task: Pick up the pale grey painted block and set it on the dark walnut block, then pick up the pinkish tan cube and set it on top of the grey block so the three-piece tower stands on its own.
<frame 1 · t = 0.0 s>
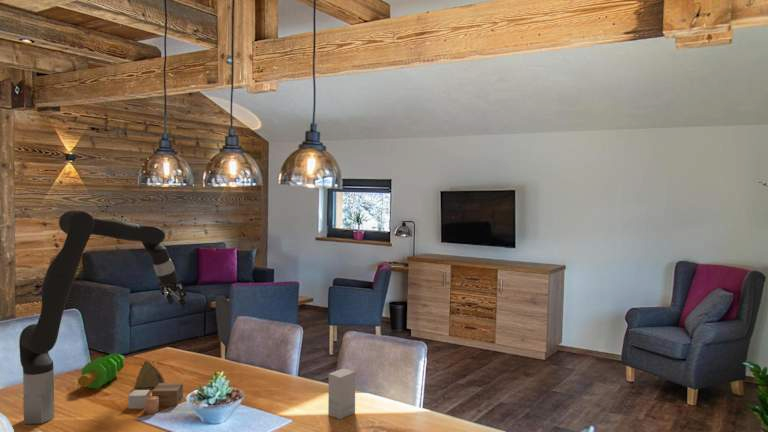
hand: (177, 304, 255), 31 cm above the table, tool tilted 20°, fingers open, 8 cm apart
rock: (150, 386, 246), on the table
skincare box: (341, 414, 218), on the table
walnut block: (168, 402, 229), on the table
grey block: (139, 405, 225), on the table
pinkish tan cube: (152, 411, 219), on the table
decorative tree: (106, 381, 251), on the table
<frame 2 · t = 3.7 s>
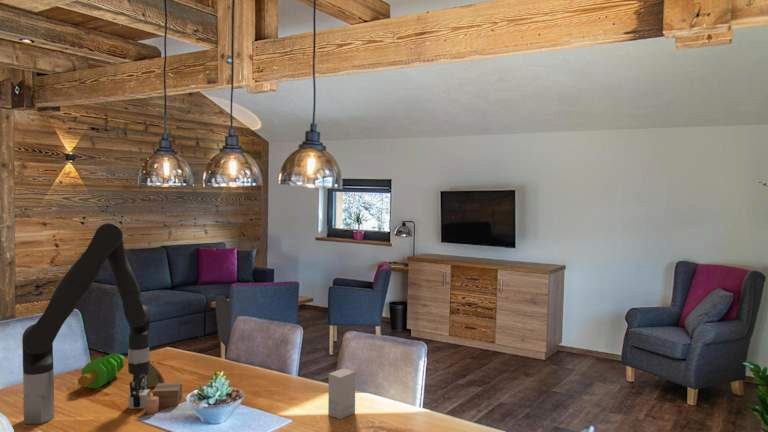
hand: (139, 403, 225), 1 cm above the table, tool pointing down, fingers closed on grey block, 6 cm apart
grey block: (139, 405, 225), on the table, touching gripper
everything else where it was.
when the fingers open (8 cm above the table, at t = 8.3 s): grey block drops 1 cm, resting on walnut block.
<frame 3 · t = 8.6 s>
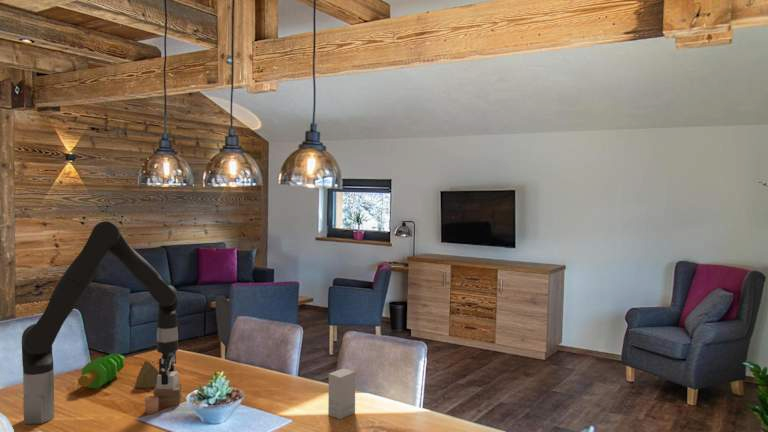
hand: (167, 380, 229), 8 cm above the table, tool pointing down, fingers open, 8 cm apart
walnut block: (167, 402, 229), on the table, touching grey block
grey block: (167, 386, 229), point 6 cm above the table, touching walnut block
everything else where it was.
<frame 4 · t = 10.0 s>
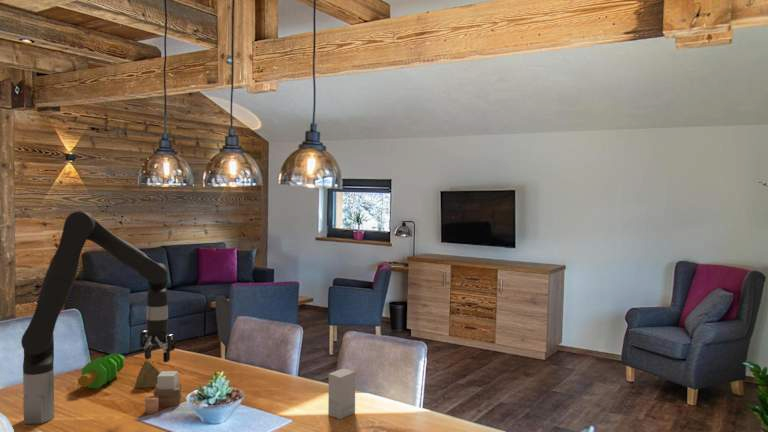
hand: (157, 360, 224), 17 cm above the table, tool pointing down, fingers open, 8 cm apart
walnut block: (168, 402, 229), on the table
grey block: (167, 386, 229), point 6 cm above the table
everything else where it was.
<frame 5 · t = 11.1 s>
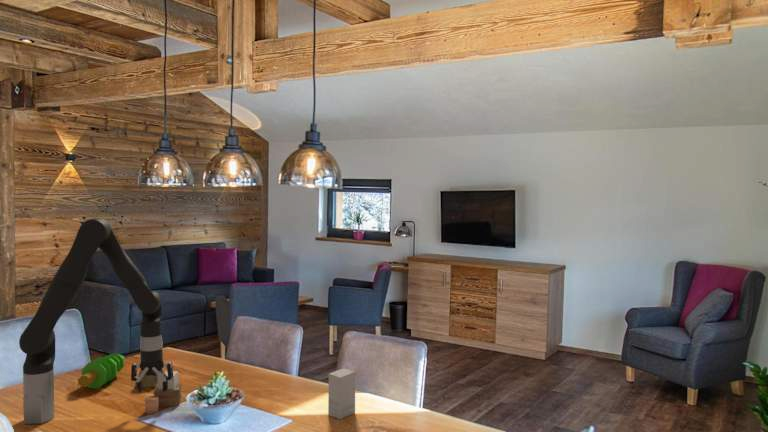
hand: (152, 391, 218), 7 cm above the table, tool pointing down, fingers open, 8 cm apart
nothing on the table moved.
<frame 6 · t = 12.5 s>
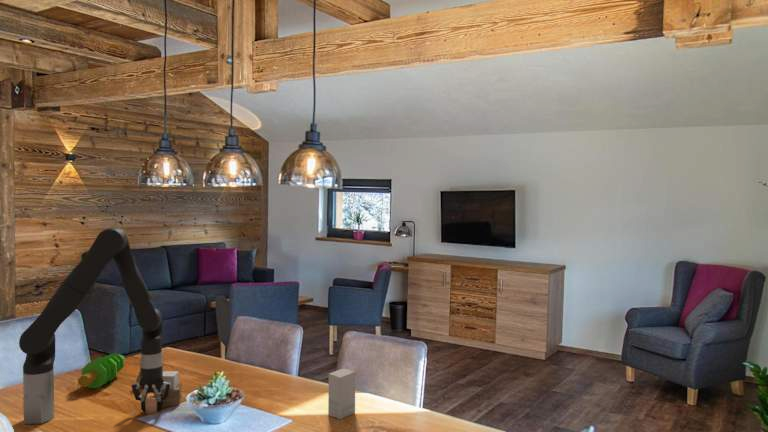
hand: (152, 410, 219), 0 cm above the table, tool pointing down, fingers closed on pinkish tan cube, 4 cm apart
walnut block: (168, 402, 229), on the table, touching grey block
grey block: (168, 386, 229), point 6 cm above the table, touching walnut block
pinkish tan cube: (151, 411, 219), on the table, touching gripper
everything else where it was.
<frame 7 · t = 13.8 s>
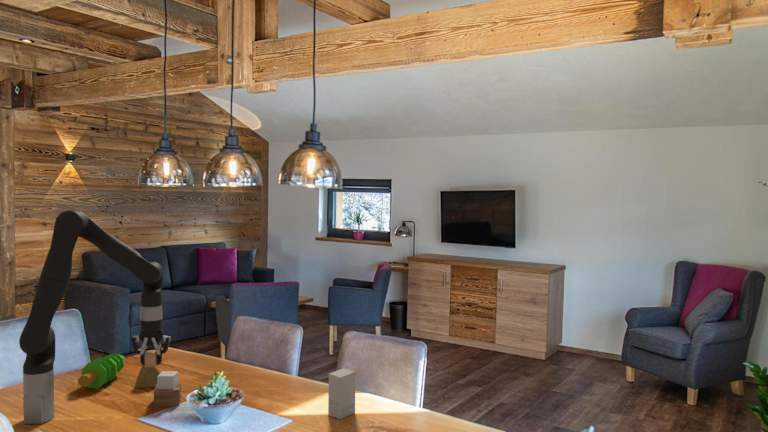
hand: (151, 364, 218), 18 cm above the table, tool pointing down, fingers closed on pinkish tan cube, 4 cm apart
pinkish tan cube: (151, 365, 218), point 17 cm above the table, touching gripper
everything else where it was.
when the fingers open (12 cm above the table, at t = 16.7 s): pinkish tan cube moves 1 cm, resting on grey block.
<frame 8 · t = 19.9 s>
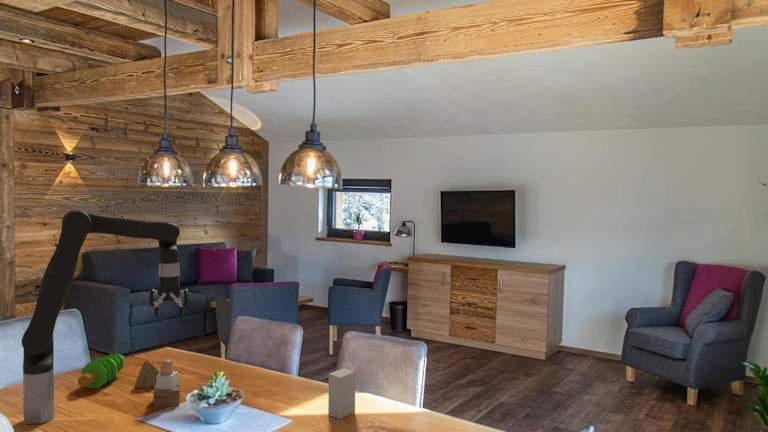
hand: (169, 316, 230), 32 cm above the table, tool pointing down, fingers open, 8 cm apart
walnut block: (167, 402, 228), on the table
grey block: (167, 386, 229), point 6 cm above the table, touching pinkish tan cube
pinkish tan cube: (166, 373, 229), point 11 cm above the table, touching grey block
everything else where it was.
at the end: grey block 0.4 cm off-centre on the walnut block, point 6.0 cm above the walnut block's base; pinkish tan cube 0.7 cm off-centre on the walnut block, point 11.0 cm above the walnut block's base; pinkish tan cube tilted 0° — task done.
